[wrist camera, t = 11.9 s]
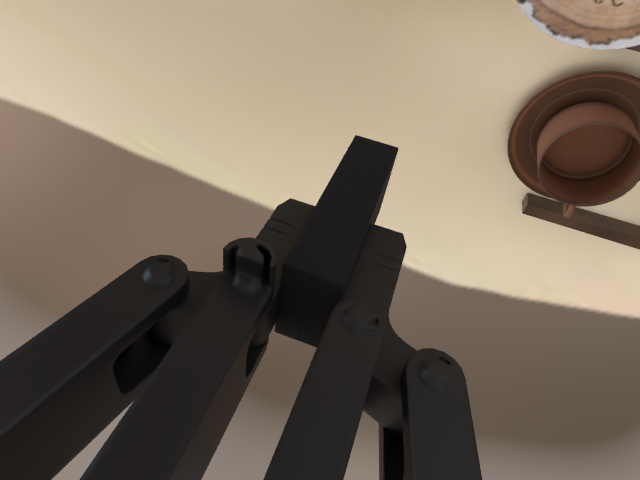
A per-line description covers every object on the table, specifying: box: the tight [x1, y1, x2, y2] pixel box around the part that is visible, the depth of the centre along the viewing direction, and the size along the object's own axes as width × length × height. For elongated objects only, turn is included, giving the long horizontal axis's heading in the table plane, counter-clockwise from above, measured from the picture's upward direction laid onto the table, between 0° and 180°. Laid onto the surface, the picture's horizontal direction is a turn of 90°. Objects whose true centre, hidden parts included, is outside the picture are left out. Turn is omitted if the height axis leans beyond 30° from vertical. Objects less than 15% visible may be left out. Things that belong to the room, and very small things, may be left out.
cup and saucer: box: [508, 71, 640, 218], centre depth 38 cm, size 12×12×6 cm
